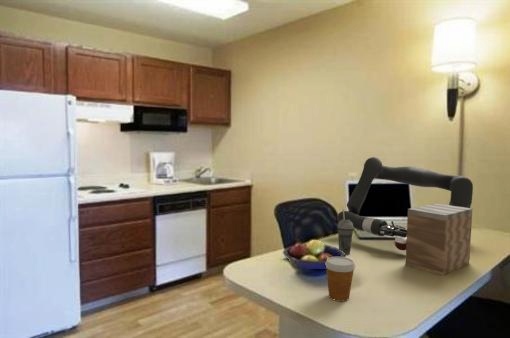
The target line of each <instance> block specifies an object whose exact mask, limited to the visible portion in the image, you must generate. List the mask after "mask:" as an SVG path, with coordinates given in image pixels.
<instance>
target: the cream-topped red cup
mask: <svg viewBox="0 0 510 338" xmlns="http://www.w3.org/2000/svg"><path fill="white" fill-rule="evenodd" d="M390 222H391V225H392V226H393V229H394V230H396V229H395V223H394V220H391V221H390ZM406 240H407V236H406V237H405V238H404V237H400V236H394V245H395V248H396V249H398V250H399V251H406Z"/></svg>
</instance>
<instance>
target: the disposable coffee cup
mask: <svg viewBox="0 0 510 338" xmlns="http://www.w3.org/2000/svg"><path fill="white" fill-rule="evenodd" d="M326 259H327V260H326V262H325V265H326V268H325V269H326V276H327V277H326V278H327V279H326V280H327V287H328V297H329V296H330V297H329V299H331V298H332V299H331V300H333V299H335V300H334V301H336V300H341V301H340V302H343V301H342V300H346V301H348V300H349V299H350V295H351V294H350V293H351V289H352V281H353V275H354V270H355V269H356V264H355V261H354V260H353V259H351V258H349V257H344V256H331V257H327V258H326ZM347 299H348V300H347Z"/></svg>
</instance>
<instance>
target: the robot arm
mask: <svg viewBox="0 0 510 338" xmlns="http://www.w3.org/2000/svg"><path fill="white" fill-rule="evenodd" d="M375 179H376V180H383V181H384V180H386V181H392V182H395V183H396V182H397V183H401V184H405V185H410V186H414V187H421V188H437V189H442V190H446V191H449V192H450V200H449V202H448V205H451V206H458V207H465V208H471V207H472V202H473V194H474V193H473V192H474V185H473V182H472V180H471V179H470V178H468V177H466V176H463V175H457V174H456V175H455V174H444V173H439V172H436V171H432V170H428V169H425V168H420V167H416V166H415V167H414V166H397V167H394V166H393V167H392V166H388V165H383V162H382V161H381V159H379V157H375V156H374V157H373V156H372V157H369V158H367V159H366V160H365V162H364V163H363V169H362V172H361V175H360V177H359V180H358V182H357V183H356V185H355V187H354V190H353V191H352V193H351V195H350V196H349V199H348V201H347V203H346V207H347V210H344V216H345V219H348V220H350V221H351V222H352V223H353V226H354V229H355V230H357V231H360V232H365V233H367V234H370V235H375V236H379V237H384V236H386V237H392V238H393V237H394V238H395V237H396V236H400V237H404V238H405V237H406V236H407V229H406V227H404V226H401V225H398V224H394V226H395V229H396V230H394V229H393V226H392V224H388V222H387V221H386V220H384V219H379V218H374V217H367V216H363V215H360V211H361V208H362V206H363V204H364V203H365V200H366V197H367V195H368V193H369V189H370V187H371V185H372V184H373V181H374V180H375ZM336 219H337V222H338V223H339V222H340V221H341V220H342V219H344V218H343V210H342V211H340V212H338V213H337V216H336Z"/></svg>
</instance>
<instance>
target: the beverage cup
mask: <svg viewBox="0 0 510 338" xmlns="http://www.w3.org/2000/svg"><path fill="white" fill-rule="evenodd" d="M342 211H343V218H344V219H342V220H341V221H340V222H338V224H337V226H336V228H337V235H338V251H339V250H341V251H343V252H344V253H345V255H344V256H350V255H351V249H352V242H353V241H352V240H353V233H354V229H355V228H354V226H353V223H352V222H351V221H350V220H348V219H345V216H344V211H345V209H344V208H342Z"/></svg>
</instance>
